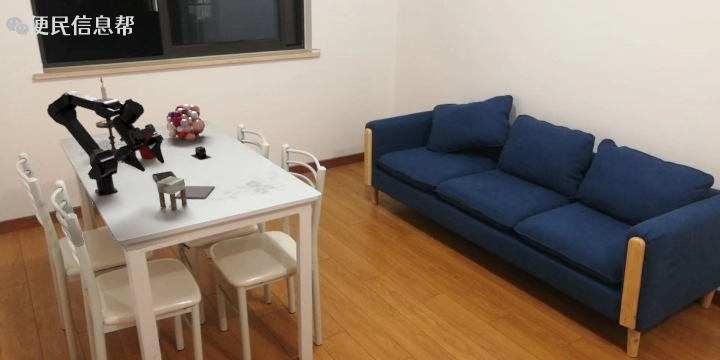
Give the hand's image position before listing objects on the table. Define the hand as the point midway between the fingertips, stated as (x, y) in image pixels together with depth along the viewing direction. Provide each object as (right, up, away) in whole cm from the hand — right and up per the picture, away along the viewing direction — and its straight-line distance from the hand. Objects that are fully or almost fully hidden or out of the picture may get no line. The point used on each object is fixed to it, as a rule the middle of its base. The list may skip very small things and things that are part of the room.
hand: (154, 166), depth 196 cm
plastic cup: (-22, +5, +53) cm, 58 cm away
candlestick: (-39, +7, +59) cm, 71 cm away
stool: (+7, -14, +1) cm, 15 cm away
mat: (+11, -9, +12) cm, 19 cm away
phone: (-5, -5, +26) cm, 27 cm away
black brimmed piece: (+1, +5, +54) cm, 54 cm away
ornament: (-14, +16, +81) cm, 83 cm away
